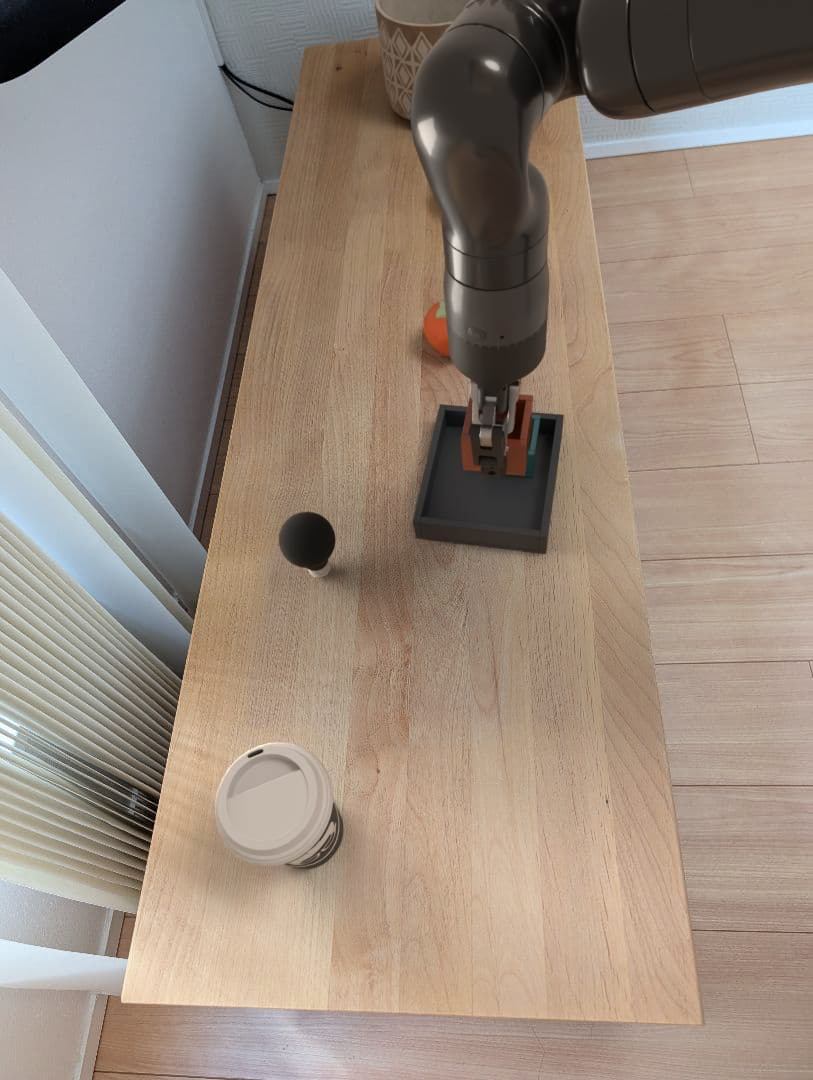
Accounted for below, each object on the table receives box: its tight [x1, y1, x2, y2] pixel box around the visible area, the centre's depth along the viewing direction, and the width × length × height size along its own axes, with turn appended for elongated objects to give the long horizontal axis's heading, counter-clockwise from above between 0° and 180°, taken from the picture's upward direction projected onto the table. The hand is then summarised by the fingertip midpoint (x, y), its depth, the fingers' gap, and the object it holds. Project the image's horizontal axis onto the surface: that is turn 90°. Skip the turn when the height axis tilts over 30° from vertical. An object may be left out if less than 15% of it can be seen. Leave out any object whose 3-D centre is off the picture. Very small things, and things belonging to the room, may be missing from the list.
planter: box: [373, 0, 470, 122], centre depth 123 cm, size 19×19×16 cm
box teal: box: [506, 415, 541, 478], centre depth 90 cm, size 6×6×4 cm
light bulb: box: [278, 511, 336, 579], centre depth 83 cm, size 6×6×10 cm
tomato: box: [423, 298, 451, 358], centre depth 99 cm, size 7×7×8 cm
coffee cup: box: [214, 741, 344, 870], centre depth 67 cm, size 10×10×15 cm
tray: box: [412, 403, 565, 555], centre depth 89 cm, size 15×17×4 cm
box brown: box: [461, 394, 534, 476], centre depth 70 cm, size 6×6×4 cm
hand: (498, 444), depth 72 cm, fingers closed on box brown, 5 cm apart
